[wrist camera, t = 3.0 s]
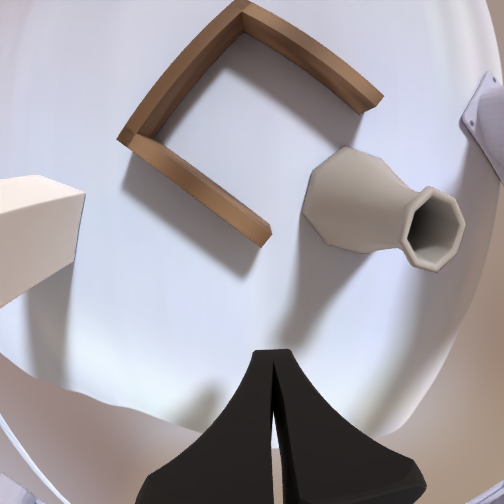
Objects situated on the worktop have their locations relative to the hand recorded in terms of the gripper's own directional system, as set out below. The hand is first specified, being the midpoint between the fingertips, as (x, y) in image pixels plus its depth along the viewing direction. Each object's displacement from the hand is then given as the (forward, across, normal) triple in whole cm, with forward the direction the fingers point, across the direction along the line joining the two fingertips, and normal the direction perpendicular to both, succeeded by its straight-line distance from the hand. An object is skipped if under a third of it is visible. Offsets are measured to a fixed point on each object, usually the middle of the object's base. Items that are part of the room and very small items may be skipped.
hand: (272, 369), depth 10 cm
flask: (+11, -6, -5) cm, 13 cm away
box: (+10, 0, -10) cm, 15 cm away
